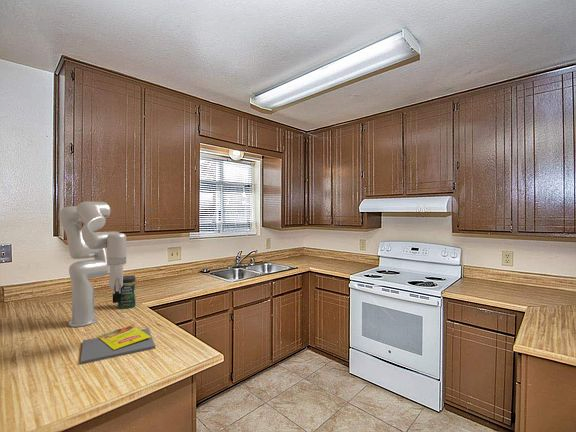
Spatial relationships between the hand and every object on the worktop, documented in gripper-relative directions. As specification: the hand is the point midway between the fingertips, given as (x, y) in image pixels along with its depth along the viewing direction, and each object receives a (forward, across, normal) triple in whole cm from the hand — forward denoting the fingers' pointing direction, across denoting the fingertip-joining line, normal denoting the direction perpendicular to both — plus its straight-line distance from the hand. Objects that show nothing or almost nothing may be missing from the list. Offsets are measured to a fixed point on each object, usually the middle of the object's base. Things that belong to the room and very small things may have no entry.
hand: (116, 302), depth 138 cm
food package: (+15, -7, 0) cm, 17 cm away
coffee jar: (+18, -49, +7) cm, 53 cm away
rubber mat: (+17, +7, 0) cm, 18 cm away
